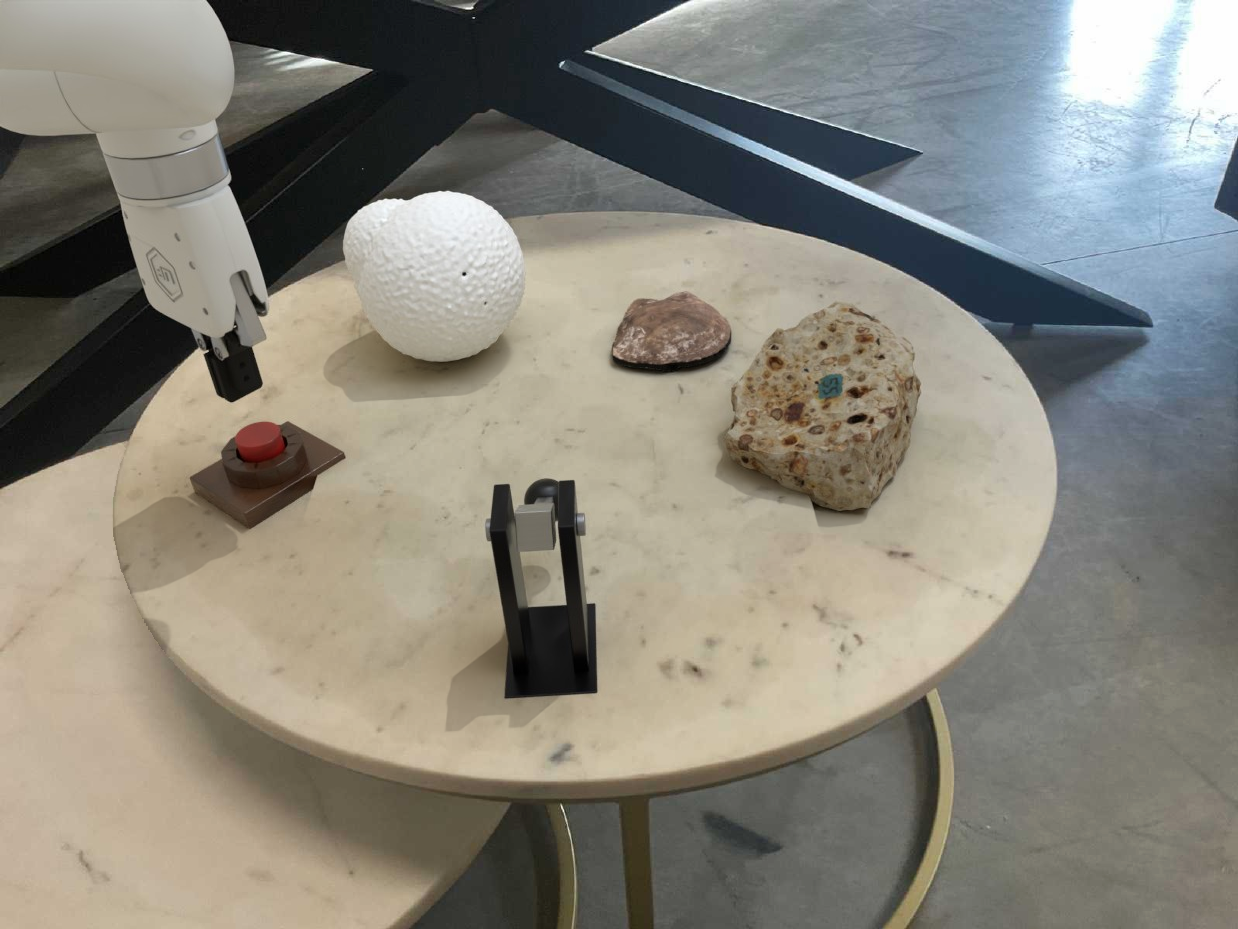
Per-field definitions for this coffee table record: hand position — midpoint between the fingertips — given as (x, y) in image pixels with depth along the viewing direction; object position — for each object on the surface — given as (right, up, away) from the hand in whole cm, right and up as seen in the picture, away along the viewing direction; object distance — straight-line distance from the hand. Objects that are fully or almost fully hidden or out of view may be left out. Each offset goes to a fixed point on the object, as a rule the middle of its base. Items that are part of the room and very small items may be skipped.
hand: (240, 391), depth 81 cm
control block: (0, -7, +6) cm, 9 cm away
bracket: (+25, -19, -11) cm, 34 cm away
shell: (+35, +6, +21) cm, 41 cm away
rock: (+48, -3, +7) cm, 48 cm away
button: (0, -5, +4) cm, 6 cm away
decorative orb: (+12, +6, +22) cm, 26 cm away
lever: (+25, -11, -14) cm, 30 cm away
